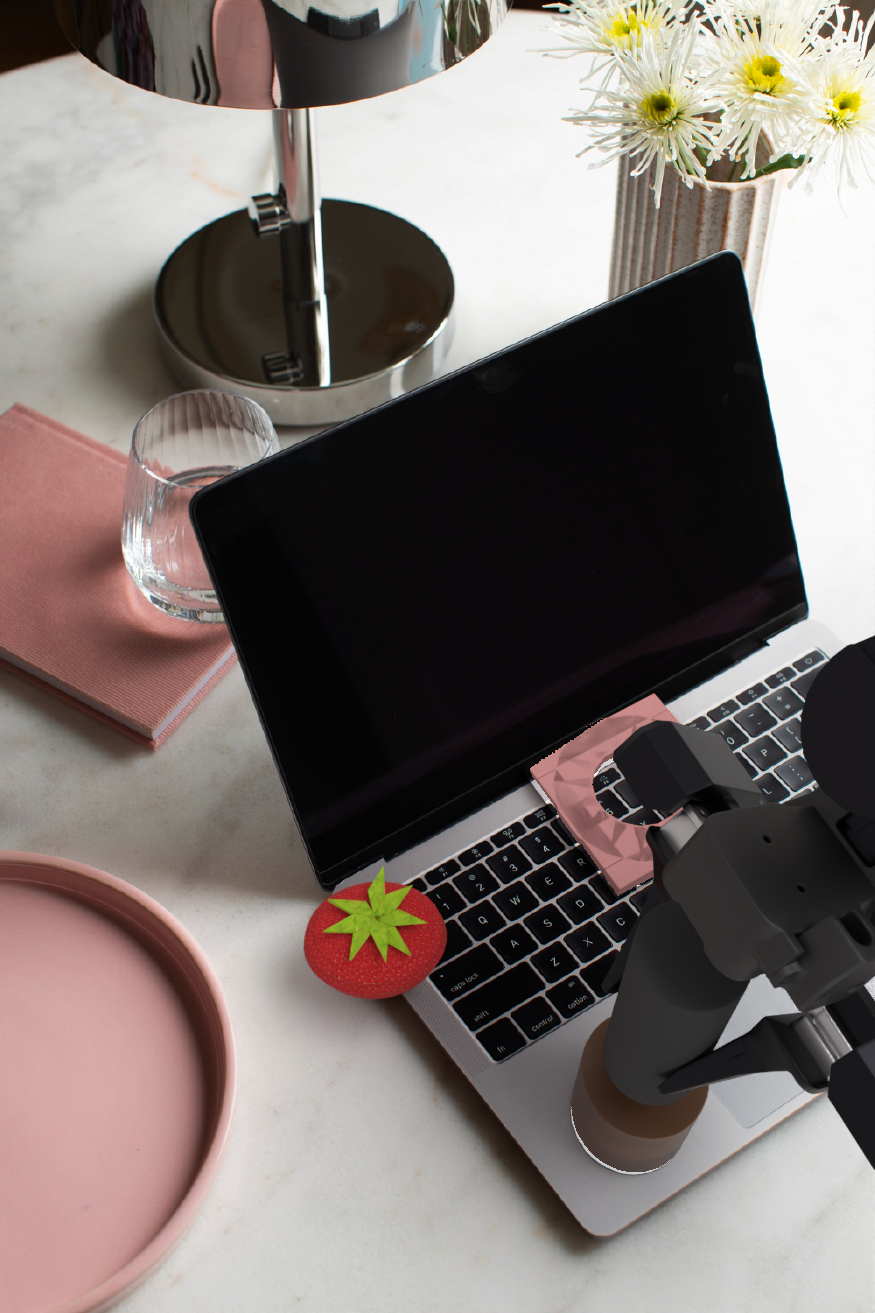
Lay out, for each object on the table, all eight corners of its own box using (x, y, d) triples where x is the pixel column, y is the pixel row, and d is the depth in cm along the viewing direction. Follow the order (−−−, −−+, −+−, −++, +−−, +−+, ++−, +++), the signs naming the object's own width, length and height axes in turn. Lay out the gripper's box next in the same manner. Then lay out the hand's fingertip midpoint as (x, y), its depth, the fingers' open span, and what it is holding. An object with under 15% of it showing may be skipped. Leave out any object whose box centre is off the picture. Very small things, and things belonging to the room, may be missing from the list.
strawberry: (312, 935, 65) (290, 855, 57) (442, 920, 65) (438, 838, 57) (316, 1037, 62) (294, 967, 54) (454, 1021, 62) (452, 949, 54)
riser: (710, 1134, 58) (736, 1095, 53) (614, 1199, 56) (631, 1165, 51) (640, 1034, 61) (657, 987, 56) (547, 1092, 60) (555, 1050, 54)
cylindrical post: (720, 1073, 51) (779, 973, 41) (641, 1126, 50) (682, 1035, 40) (660, 991, 53) (703, 877, 44) (583, 1039, 52) (609, 933, 42)
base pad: (753, 822, 69) (758, 810, 68) (616, 903, 66) (618, 892, 65) (651, 703, 74) (654, 690, 73) (520, 773, 71) (520, 760, 70)
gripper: (688, 587, 41) (418, 846, 47) (1056, 1068, 30) (647, 1317, 37) (817, 646, 49) (572, 860, 55) (1143, 1042, 39) (795, 1249, 45)
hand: (635, 1038), depth 48 cm, fingers closed on cylindrical post, 4 cm apart
